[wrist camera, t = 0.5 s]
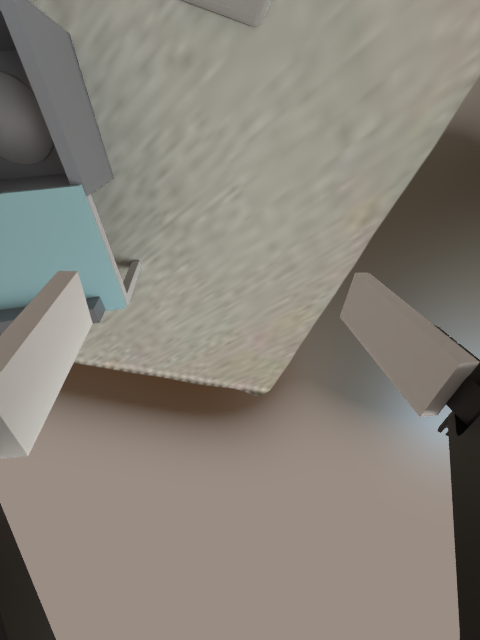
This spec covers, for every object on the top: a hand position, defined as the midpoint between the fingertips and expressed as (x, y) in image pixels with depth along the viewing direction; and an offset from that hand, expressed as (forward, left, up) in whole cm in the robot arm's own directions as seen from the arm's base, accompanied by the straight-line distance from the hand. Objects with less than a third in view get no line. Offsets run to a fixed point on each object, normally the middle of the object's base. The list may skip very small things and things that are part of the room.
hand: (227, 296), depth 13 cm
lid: (+2, -18, -15) cm, 24 cm away
